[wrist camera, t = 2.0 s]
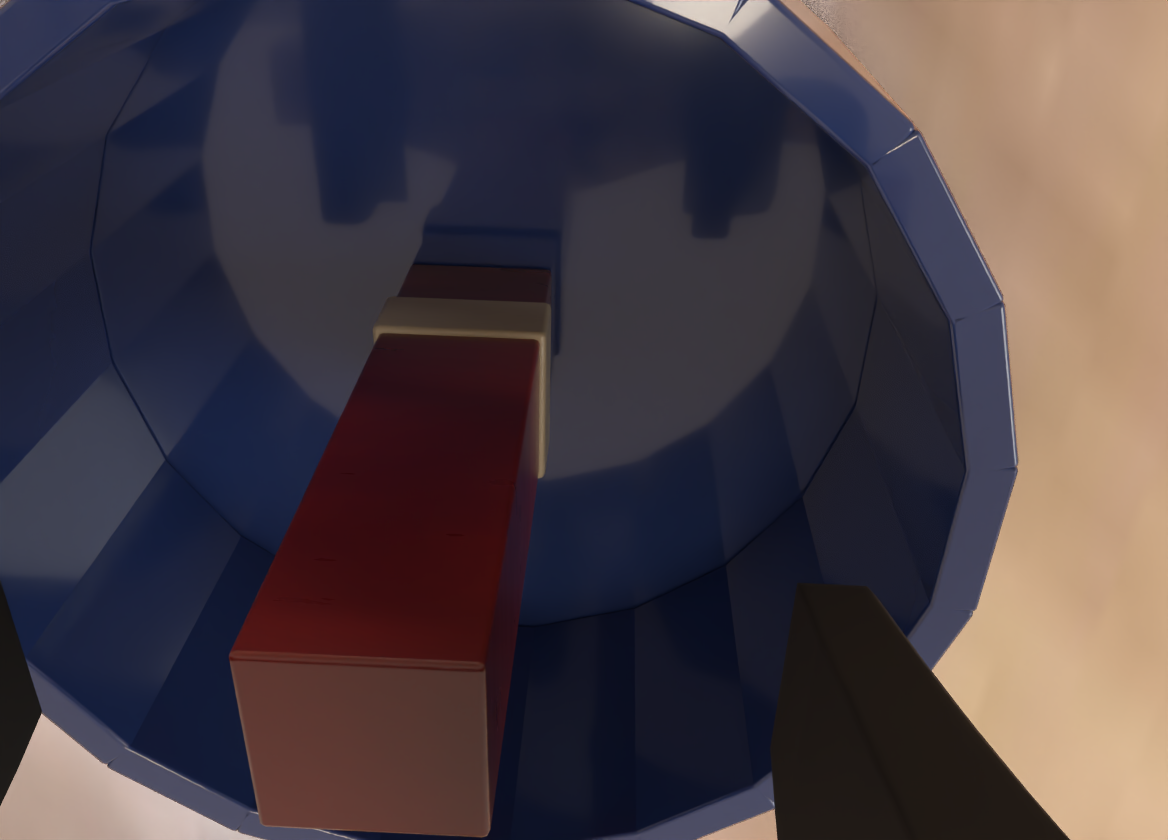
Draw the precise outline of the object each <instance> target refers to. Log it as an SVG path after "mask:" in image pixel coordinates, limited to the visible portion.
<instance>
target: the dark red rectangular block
mask: <svg viewBox="0 0 1168 840" xmlns="http://www.w3.org/2000/svg"><path fill="white" fill-rule="evenodd" d="M373 342H374V346H373V349H372V351H371V353H370V355H369V357H368V359H367V361H366V364H365V366H364V368H363V370H362V372H361V374H360V376H359V378H358V381H357V383H356V385H355V387H354V389H353V391H352V393H351V395H350V398H349V400H348V402H347V404H346V406H345V408H344V410H343V413H342V415H341V417H340V419H339V421H338V423H337V425H336V427H335V430H334V432H333V434H332V436H331V438H330V440H329V442H328V444H327V447H326V449H325V451H324V453H323V455H322V457H321V459H320V462H319V464H318V466H317V468H316V470H315V472H314V474H313V476H312V479H311V481H310V483H309V485H308V487H307V489H306V491H305V493H304V496H303V498H302V500H301V502H300V504H299V506H298V508H297V511H296V513H295V515H294V517H293V519H292V521H291V523H290V525H289V528H288V530H287V532H286V534H285V536H284V538H283V540H282V542H281V545H280V547H279V549H278V551H277V553H276V555H275V557H274V560H273V562H272V564H271V566H270V568H269V570H268V572H267V574H266V577H265V579H264V581H263V583H262V585H261V587H260V589H259V591H258V594H257V596H256V598H255V600H254V602H253V604H252V606H251V609H250V611H249V613H248V615H247V617H246V619H245V621H244V623H243V626H242V628H241V630H240V632H239V634H238V636H237V638H236V640H235V643H234V645H233V647H232V649H231V651H230V654H229V661H230V666H231V672H232V677H233V682H234V687H235V693H236V698H237V703H238V709H239V714H240V719H241V725H242V730H243V735H244V740H245V746H246V751H247V756H248V762H249V767H250V772H251V777H252V783H253V788H254V793H255V799H256V804H257V809H258V814H259V820H260V823H261V824H262V825H264V826H266V827H286V828H306V829H326V830H346V831H366V832H386V833H406V834H426V835H446V836H466V837H485V836H487V835H488V833H489V831H490V829H491V822H492V814H493V807H494V800H495V792H496V785H497V778H498V770H499V763H500V755H501V748H502V741H503V733H504V726H505V718H506V711H507V704H508V696H509V689H510V681H511V674H512V667H513V659H514V652H515V645H516V637H517V630H518V622H519V615H520V608H521V600H522V593H523V585H524V578H525V571H526V563H527V556H528V548H529V541H530V534H531V526H532V519H533V512H534V504H535V497H536V489H537V482H538V478H542V477H543V476H544V474H545V471H546V463H547V455H548V447H549V436H550V360H551V272H550V271H549V270H541V269H516V268H491V267H466V266H441V265H416V264H414V265H412V266H411V268H410V270H409V272H408V274H407V276H406V278H405V280H404V283H403V285H402V287H401V289H400V291H399V293H398V295H397V297H389V298H387V300H386V302H385V304H384V306H383V308H382V310H381V312H380V315H379V317H378V319H377V321H376V323H375V325H374V327H373Z"/></svg>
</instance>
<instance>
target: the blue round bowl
mask: <svg viewBox="0 0 1168 840" xmlns="http://www.w3.org/2000/svg"><path fill="white" fill-rule="evenodd" d="M414 264H416V265H441V266H466V267H491V268H516V269H541V270H549V271H550V272H551V360H550V436H549V447H548V455H547V463H546V471H545V474H544V476H543V477H542V478H538V482H537V489H536V497H535V504H534V512H533V519H532V526H531V534H530V541H529V548H528V556H527V563H526V571H525V578H524V585H523V593H522V600H521V608H520V615H519V622H518V630H517V637H516V645H515V652H514V659H513V667H512V674H511V681H510V689H509V696H508V704H507V711H506V718H505V726H504V733H503V741H502V748H501V755H500V763H499V770H498V778H497V785H496V792H495V800H494V807H493V814H492V822H491V829H490V831H489V833H488V835H487V836H485V837H466V836H446V835H426V834H406V833H386V832H366V831H346V830H326V829H306V828H286V827H266V826H264V825H262V824H261V823H260V820H259V814H258V809H257V804H256V799H255V793H254V788H253V783H252V777H251V772H250V767H249V762H248V756H247V751H246V746H245V740H244V735H243V730H242V725H241V719H240V714H239V709H238V703H237V698H236V693H235V687H234V682H233V677H232V672H231V666H230V661H229V654H230V651H231V649H232V647H233V645H234V643H235V640H236V638H237V636H238V634H239V632H240V630H241V628H242V626H243V623H244V621H245V619H246V617H247V615H248V613H249V611H250V609H251V606H252V604H253V602H254V600H255V598H256V596H257V594H258V591H259V589H260V587H261V585H262V583H263V581H264V579H265V577H266V574H267V572H268V570H269V568H270V566H271V564H272V562H273V560H274V557H275V555H276V553H277V551H278V549H279V547H280V545H281V542H282V540H283V538H284V536H285V534H286V532H287V530H288V528H289V525H290V523H291V521H292V519H293V517H294V515H295V513H296V511H297V508H298V506H299V504H300V502H301V500H302V498H303V496H304V493H305V491H306V489H307V487H308V485H309V483H310V481H311V479H312V476H313V474H314V472H315V470H316V468H317V466H318V464H319V462H320V459H321V457H322V455H323V453H324V451H325V449H326V447H327V444H328V442H329V440H330V438H331V436H332V434H333V432H334V430H335V427H336V425H337V423H338V421H339V419H340V417H341V415H342V413H343V410H344V408H345V406H346V404H347V402H348V400H349V398H350V395H351V393H352V391H353V389H354V387H355V385H356V383H357V381H358V378H359V376H360V374H361V372H362V370H363V368H364V366H365V364H366V361H367V359H368V357H369V355H370V353H371V351H372V349H373V346H374V342H373V327H374V325H375V323H376V321H377V319H378V317H379V315H380V312H381V310H382V308H383V306H384V304H385V302H386V300H387V298H389V297H397V295H398V293H399V291H400V289H401V287H402V285H403V283H404V280H405V278H406V276H407V274H408V272H409V270H410V268H411V266H412V265H414ZM1017 465H1018V449H1017V437H1016V425H1015V414H1014V402H1013V390H1012V378H1011V367H1010V355H1009V343H1008V331H1007V320H1006V308H1005V304H1004V302H1003V294H1002V292H1001V290H1000V288H999V286H998V284H997V282H996V280H995V278H994V276H993V274H992V272H991V270H990V268H989V266H988V264H987V262H986V260H985V258H984V256H983V254H982V252H981V250H980V248H979V246H978V244H977V242H976V240H975V238H974V236H973V234H972V232H971V230H970V228H969V226H968V224H967V222H966V220H965V218H964V216H963V214H962V212H961V210H960V208H959V206H958V204H957V202H956V200H955V198H954V196H953V194H952V192H951V190H950V188H949V186H948V184H947V182H946V180H945V178H944V176H943V174H942V172H941V170H940V168H939V167H938V165H937V163H936V161H935V159H934V157H933V155H932V153H931V151H930V149H929V147H928V145H927V143H926V141H925V139H924V137H923V135H922V133H921V131H920V130H919V129H918V128H917V127H916V126H915V124H914V123H913V121H912V120H911V119H910V118H909V117H908V116H907V115H906V113H905V112H904V111H903V110H902V109H901V108H900V107H899V105H898V104H897V103H896V102H895V101H894V100H893V99H892V98H891V96H890V95H889V94H888V93H887V92H886V91H885V90H884V88H883V87H882V86H881V85H880V84H879V83H878V82H877V81H876V79H875V78H874V77H873V76H872V75H871V74H870V73H869V71H868V70H867V69H866V68H865V67H864V66H863V65H862V64H861V62H860V61H859V60H858V59H857V58H856V57H855V56H854V54H853V53H852V52H851V51H850V50H849V49H848V48H847V47H846V45H845V44H844V43H843V42H842V41H841V40H840V39H839V37H838V36H837V35H836V34H835V33H834V32H833V31H832V30H831V28H830V27H829V26H827V25H826V24H825V23H824V22H823V21H822V20H821V19H820V18H819V17H818V16H817V15H816V14H814V13H813V12H812V11H811V10H810V9H809V8H808V7H807V6H806V5H805V4H804V3H803V2H802V1H800V0H8V1H7V2H6V3H4V4H3V5H2V6H1V7H0V581H1V584H2V587H3V590H4V593H5V596H6V599H7V603H8V606H9V609H10V612H11V615H12V618H13V621H14V625H15V628H16V631H17V634H18V637H19V640H20V643H21V646H22V650H23V653H24V656H25V659H26V662H27V665H28V668H29V672H30V675H31V678H32V681H33V684H34V687H35V690H36V694H37V697H38V700H39V703H40V706H41V709H42V714H43V715H44V716H45V717H47V718H48V719H49V720H50V721H51V722H53V723H54V724H55V725H56V726H58V727H59V728H60V729H61V730H62V731H64V732H65V733H66V734H67V735H69V736H70V737H71V738H72V739H73V740H75V741H76V742H77V743H78V744H80V745H81V746H82V747H83V748H84V749H86V750H87V751H88V752H89V753H91V754H92V755H93V756H94V757H95V758H97V759H98V760H99V761H100V762H102V763H104V764H108V765H107V767H108V768H110V769H111V770H113V771H115V772H117V773H119V774H121V775H123V776H125V777H127V778H129V779H131V780H133V781H135V782H137V783H139V784H141V785H143V786H145V787H147V788H149V789H151V790H153V791H155V792H157V793H159V794H161V795H163V796H165V797H167V798H169V799H171V800H173V801H175V802H177V803H179V804H181V805H183V806H185V807H187V808H189V809H191V810H193V811H195V812H197V813H199V814H201V815H203V816H205V817H207V818H209V819H211V820H213V821H215V822H217V823H219V824H221V825H223V826H225V827H227V828H229V829H231V830H233V831H236V830H238V832H240V833H242V834H246V835H249V836H253V837H257V838H261V839H264V840H697V839H700V838H702V837H705V836H707V835H710V834H712V833H715V832H717V831H720V830H723V829H725V828H728V827H730V826H733V825H735V824H738V823H740V822H743V821H746V820H748V819H751V818H753V817H756V816H758V815H761V814H763V813H766V812H769V811H771V810H774V809H775V805H774V792H773V779H772V766H771V753H770V746H771V740H772V734H773V728H774V721H775V715H776V709H777V703H778V697H779V691H780V685H781V679H782V673H783V667H784V661H785V655H786V649H787V643H788V637H789V630H790V624H791V618H792V612H793V606H794V600H795V594H796V588H797V583H813V584H834V585H855V586H868V588H869V589H870V590H871V591H872V592H873V593H874V594H875V595H876V597H877V598H878V599H879V601H880V602H881V603H882V605H883V606H884V607H885V609H886V610H887V611H888V613H889V614H890V616H891V617H892V618H893V620H894V621H895V622H896V624H897V625H898V626H899V628H900V629H901V631H902V632H903V633H904V635H905V636H906V637H907V639H908V640H909V641H910V643H911V644H912V646H913V647H914V648H915V650H916V651H917V652H918V654H919V655H920V656H921V658H922V659H923V660H924V662H925V663H926V664H927V666H928V667H929V668H930V670H931V671H932V669H933V668H934V667H935V665H936V664H937V663H938V661H939V660H940V659H941V657H942V656H943V655H944V653H945V652H946V651H947V649H948V648H949V646H950V645H951V644H952V642H953V641H954V640H955V638H956V637H957V636H958V634H959V633H960V632H961V630H962V629H963V628H964V626H965V625H966V624H967V622H968V621H969V620H970V618H971V617H972V614H973V611H975V610H976V609H977V605H978V602H979V599H980V595H981V592H982V589H983V585H984V582H985V579H986V575H987V572H988V569H989V565H990V562H991V559H992V556H993V552H994V549H995V546H996V542H997V539H998V536H999V532H1000V529H1001V526H1002V522H1003V519H1004V516H1005V512H1006V509H1007V506H1008V502H1009V499H1010V496H1011V492H1012V489H1013V486H1014V482H1015V479H1016V476H1017V472H1018V469H1017Z"/></svg>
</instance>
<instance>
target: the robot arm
mask: <svg viewBox="0 0 1168 840" xmlns="http://www.w3.org/2000/svg"><path fill="white" fill-rule="evenodd" d="M41 713H42V709H41V706H40V703H39V700H38V697H37V694H36V690H35V687H34V684H33V681H32V678H31V675H30V672H29V668H28V665H27V662H26V659H25V656H24V653H23V650H22V646H21V643H20V640H19V637H18V634H17V631H16V628H15V625H14V621H13V618H12V615H11V612H10V609H9V606H8V603H7V599H6V596H5V593H4V590H3V587H2V584H1V581H0V806H1V803H2V801H3V799H4V797H5V795H6V793H7V791H8V789H9V786H10V784H11V782H12V780H13V778H14V776H15V774H16V772H17V769H18V767H19V765H20V762H21V760H22V758H23V755H24V753H25V751H26V748H27V746H28V744H29V741H30V739H31V737H32V734H33V732H34V730H35V727H36V725H37V723H38V720H39V718H40V715H41ZM770 753H771V766H772V779H773V792H774V805H775V816H776V827H777V838H778V840H1070V839H1069V838H1068V837H1067V836H1066V835H1065V833H1064V832H1063V831H1062V830H1061V829H1060V828H1059V827H1058V826H1057V824H1056V823H1055V822H1054V821H1053V820H1052V819H1051V817H1050V816H1049V815H1048V814H1047V813H1046V812H1045V811H1044V809H1043V808H1042V807H1041V806H1040V805H1039V804H1038V802H1037V801H1036V800H1035V799H1034V798H1033V797H1032V796H1031V794H1030V793H1029V792H1028V791H1027V790H1026V788H1025V787H1024V786H1023V785H1022V784H1021V782H1020V781H1019V780H1018V779H1017V778H1016V776H1015V775H1014V774H1013V773H1012V771H1011V770H1010V769H1009V768H1008V767H1007V765H1006V764H1005V763H1004V762H1003V761H1002V759H1001V758H1000V757H999V756H998V755H997V753H996V752H995V751H994V750H993V748H992V747H991V746H990V745H989V744H988V742H987V741H986V740H985V739H984V738H983V736H982V735H981V734H980V733H979V731H978V730H977V729H976V728H975V726H974V725H973V724H972V723H971V721H970V720H969V719H968V718H967V716H966V715H965V714H964V713H963V711H962V710H961V709H960V707H959V706H958V705H957V704H956V702H955V701H954V700H953V698H952V697H951V696H950V695H949V693H948V692H947V691H946V689H945V688H944V687H943V685H942V684H941V683H940V681H939V680H938V679H937V677H936V676H935V675H934V674H933V672H932V671H931V670H930V668H929V667H928V666H927V664H926V663H925V662H924V660H923V659H922V658H921V656H920V655H919V654H918V652H917V651H916V650H915V648H914V647H913V646H912V644H911V643H910V641H909V640H908V639H907V637H906V636H905V635H904V633H903V632H902V631H901V629H900V628H899V626H898V625H897V624H896V622H895V621H894V620H893V618H892V617H891V616H890V614H889V613H888V611H887V610H886V609H885V607H884V606H883V605H882V603H881V602H880V601H879V599H878V598H877V597H876V595H875V594H874V593H873V592H872V591H871V590H870V589H869V588H868V586H855V585H834V584H813V583H797V588H796V594H795V600H794V606H793V612H792V618H791V624H790V630H789V637H788V643H787V649H786V655H785V661H784V667H783V673H782V679H781V685H780V691H779V697H778V703H777V709H776V715H775V721H774V728H773V734H772V740H771V746H770Z"/></svg>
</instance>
